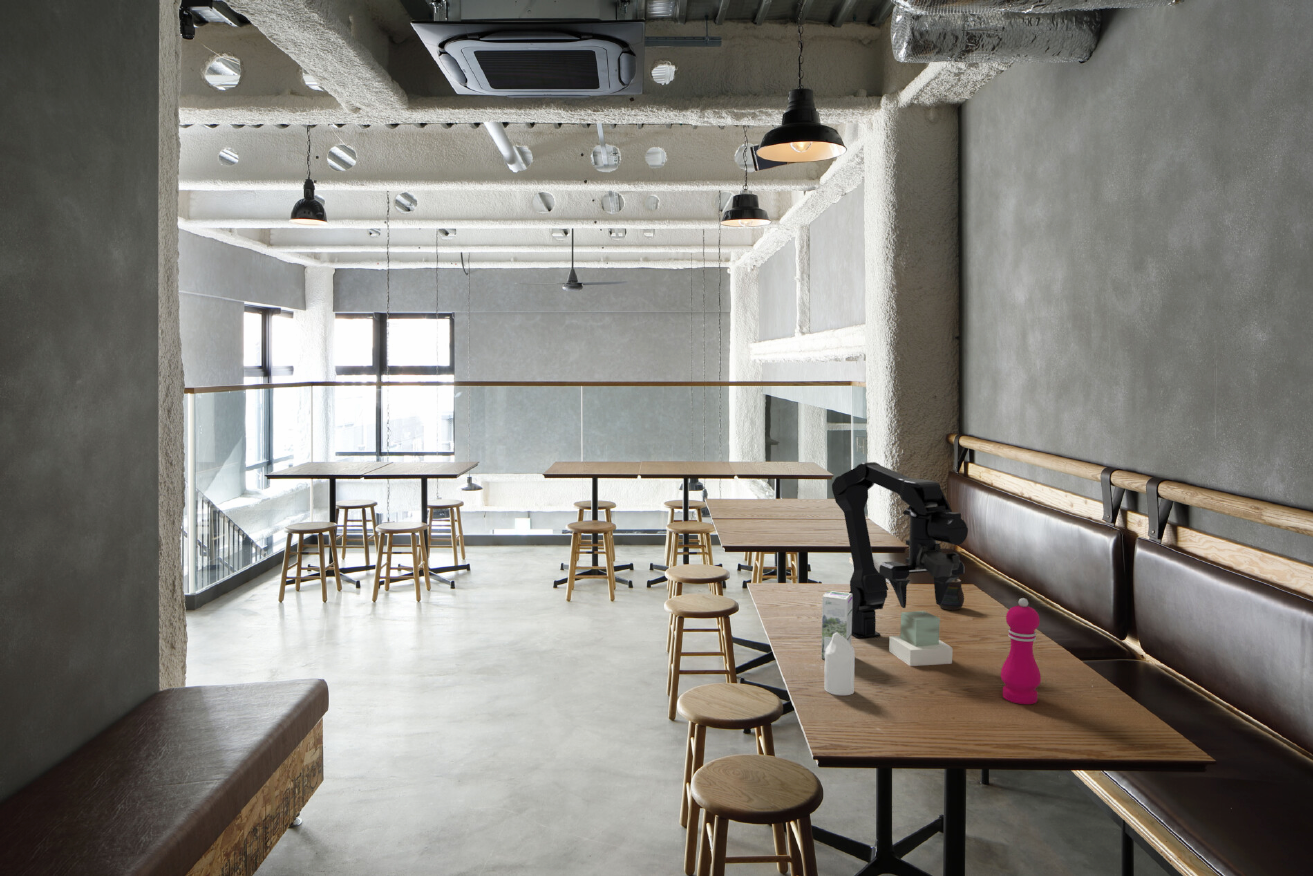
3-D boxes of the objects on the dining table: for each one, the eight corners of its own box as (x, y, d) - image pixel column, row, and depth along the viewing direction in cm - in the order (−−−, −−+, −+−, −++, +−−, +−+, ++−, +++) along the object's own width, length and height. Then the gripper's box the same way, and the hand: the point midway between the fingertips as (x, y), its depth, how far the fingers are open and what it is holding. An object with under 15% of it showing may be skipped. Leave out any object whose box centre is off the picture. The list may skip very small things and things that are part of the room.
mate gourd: (933, 609, 228) (933, 573, 228) (939, 603, 235) (940, 568, 234) (960, 613, 224) (961, 576, 224) (966, 607, 231) (967, 571, 230)
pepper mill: (1037, 708, 159) (1041, 605, 157) (996, 700, 163) (1000, 599, 161) (1042, 696, 165) (1046, 597, 164) (1003, 689, 169) (1006, 591, 167)
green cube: (900, 638, 190) (901, 612, 190) (923, 636, 192) (923, 610, 191) (915, 646, 184) (916, 620, 184) (938, 644, 186) (939, 618, 186)
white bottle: (859, 631, 167) (849, 638, 163) (858, 689, 168) (847, 698, 163) (831, 626, 170) (820, 633, 166) (830, 683, 171) (819, 691, 167)
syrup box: (851, 655, 189) (853, 592, 188) (846, 663, 184) (847, 598, 183) (826, 651, 192) (828, 589, 191) (820, 659, 186) (821, 595, 185)
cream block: (889, 653, 192) (889, 636, 192) (929, 651, 194) (929, 634, 194) (909, 668, 182) (910, 650, 182) (951, 665, 184) (952, 647, 184)
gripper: (908, 546, 176) (906, 619, 177) (982, 541, 181) (979, 612, 182) (878, 537, 186) (877, 605, 187) (949, 532, 192) (947, 599, 193)
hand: (921, 606), depth 187 cm, fingers open, 9 cm apart
